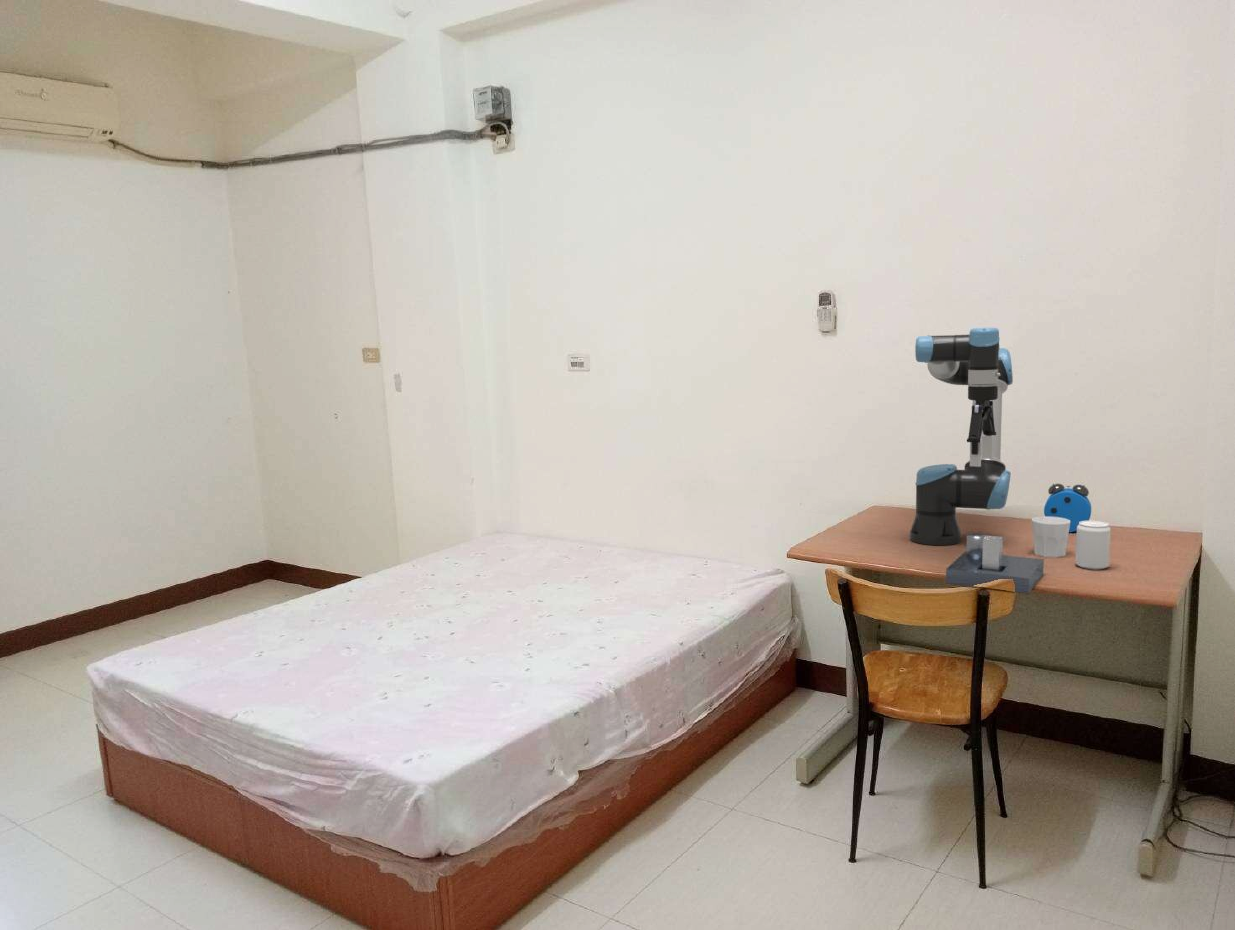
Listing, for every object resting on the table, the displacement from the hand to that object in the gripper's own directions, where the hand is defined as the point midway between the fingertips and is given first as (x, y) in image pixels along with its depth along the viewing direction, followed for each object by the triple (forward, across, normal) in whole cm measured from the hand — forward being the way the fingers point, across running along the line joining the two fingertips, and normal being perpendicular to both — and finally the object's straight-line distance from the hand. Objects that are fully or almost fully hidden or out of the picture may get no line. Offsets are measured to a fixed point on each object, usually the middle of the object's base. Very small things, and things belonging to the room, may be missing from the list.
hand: (981, 462), depth 248 cm
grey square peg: (+29, -17, -7) cm, 34 cm away
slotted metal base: (+29, -13, -7) cm, 32 cm away
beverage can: (+29, +10, -27) cm, 41 cm away
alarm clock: (+29, +50, -15) cm, 60 cm away
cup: (+29, +19, -15) cm, 38 cm away
